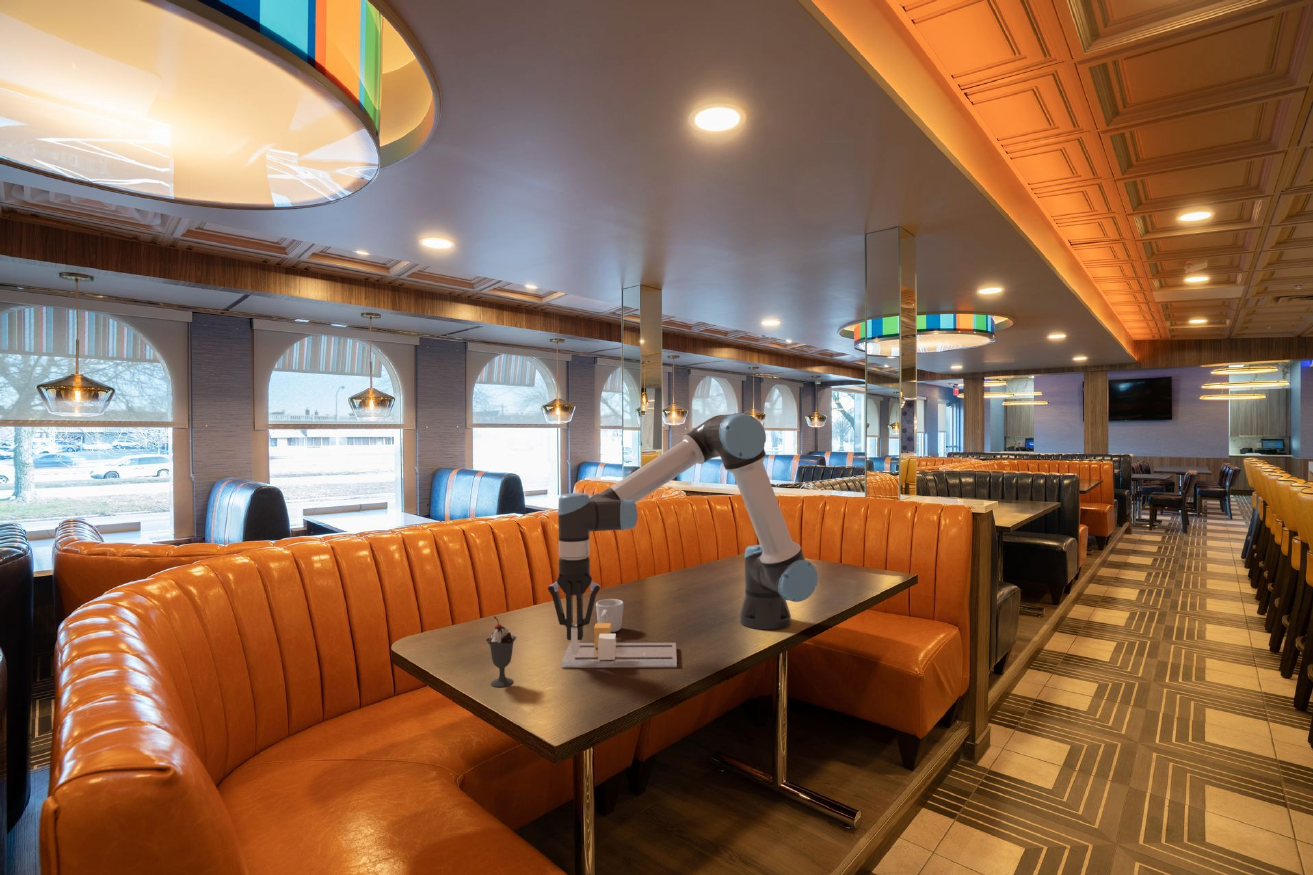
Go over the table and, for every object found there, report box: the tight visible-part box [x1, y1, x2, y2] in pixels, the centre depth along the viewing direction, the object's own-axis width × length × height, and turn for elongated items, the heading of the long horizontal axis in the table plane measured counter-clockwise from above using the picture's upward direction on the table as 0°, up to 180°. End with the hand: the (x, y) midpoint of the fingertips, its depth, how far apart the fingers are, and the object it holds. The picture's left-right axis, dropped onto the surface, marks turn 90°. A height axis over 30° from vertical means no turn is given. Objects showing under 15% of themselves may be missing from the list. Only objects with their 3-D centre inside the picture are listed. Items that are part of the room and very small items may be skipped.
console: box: [560, 642, 678, 669], centre depth 154 cm, size 28×13×2 cm, turn 89°
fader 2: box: [598, 633, 617, 660], centre depth 150 cm, size 4×4×5 cm
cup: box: [595, 598, 624, 633], centre depth 175 cm, size 11×8×8 cm
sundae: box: [485, 615, 517, 688], centre depth 139 cm, size 7×7×15 cm
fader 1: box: [593, 622, 612, 647], centre depth 158 cm, size 4×4×5 cm
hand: (575, 652), depth 150 cm, fingers closed
